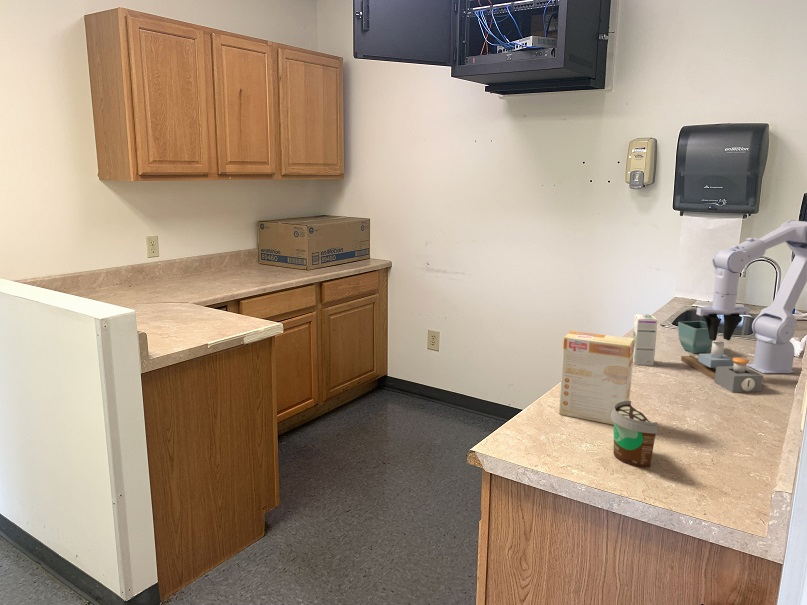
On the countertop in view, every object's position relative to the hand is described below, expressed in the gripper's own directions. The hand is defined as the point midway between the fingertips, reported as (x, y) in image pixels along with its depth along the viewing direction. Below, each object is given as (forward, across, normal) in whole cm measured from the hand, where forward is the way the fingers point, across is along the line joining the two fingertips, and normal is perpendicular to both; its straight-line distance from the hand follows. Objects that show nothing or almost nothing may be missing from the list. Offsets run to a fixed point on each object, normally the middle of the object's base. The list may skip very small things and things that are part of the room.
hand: (719, 339), depth 171 cm
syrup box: (+11, +16, -12) cm, 23 cm away
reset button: (+6, 0, +10) cm, 12 cm away
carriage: (+7, 0, 0) cm, 7 cm away
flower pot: (+11, -7, -22) cm, 25 cm away
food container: (+11, +49, +47) cm, 69 cm away
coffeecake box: (+11, +47, +26) cm, 55 cm away
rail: (+10, 0, -4) cm, 11 cm away
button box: (+10, 0, +10) cm, 14 cm away
